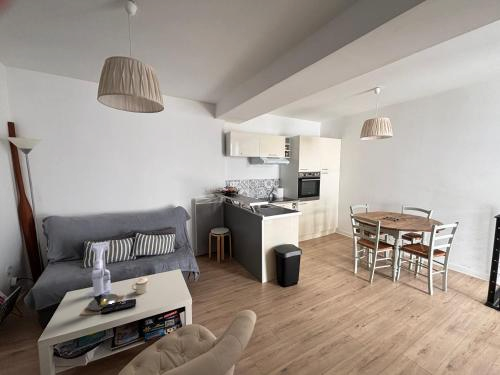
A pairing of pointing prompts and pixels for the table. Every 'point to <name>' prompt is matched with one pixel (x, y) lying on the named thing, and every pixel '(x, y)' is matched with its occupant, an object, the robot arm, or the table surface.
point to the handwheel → (103, 302)
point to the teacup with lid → (141, 286)
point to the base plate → (89, 312)
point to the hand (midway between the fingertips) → (99, 304)
